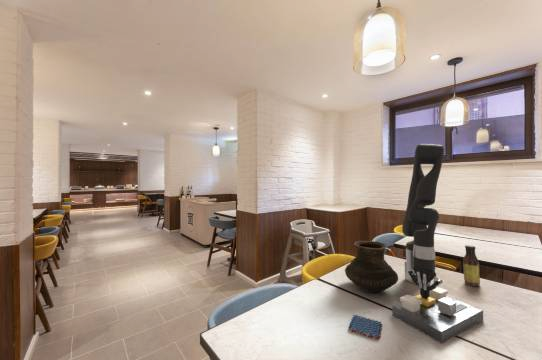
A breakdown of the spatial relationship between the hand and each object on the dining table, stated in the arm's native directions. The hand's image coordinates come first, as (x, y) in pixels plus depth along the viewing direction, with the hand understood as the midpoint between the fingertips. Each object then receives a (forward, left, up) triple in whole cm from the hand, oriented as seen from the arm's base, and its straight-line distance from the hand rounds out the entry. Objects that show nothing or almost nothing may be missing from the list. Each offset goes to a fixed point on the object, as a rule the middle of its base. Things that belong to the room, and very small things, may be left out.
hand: (424, 297), depth 94 cm
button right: (0, +9, -4) cm, 10 cm away
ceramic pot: (-25, -3, -6) cm, 26 cm away
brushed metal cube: (+8, 0, -1) cm, 9 cm away
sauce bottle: (-5, +48, -6) cm, 49 cm away
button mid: (0, 0, -5) cm, 5 cm away
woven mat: (-4, -30, -7) cm, 31 cm away
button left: (0, -9, -4) cm, 10 cm away
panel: (+4, 0, -6) cm, 7 cm away
